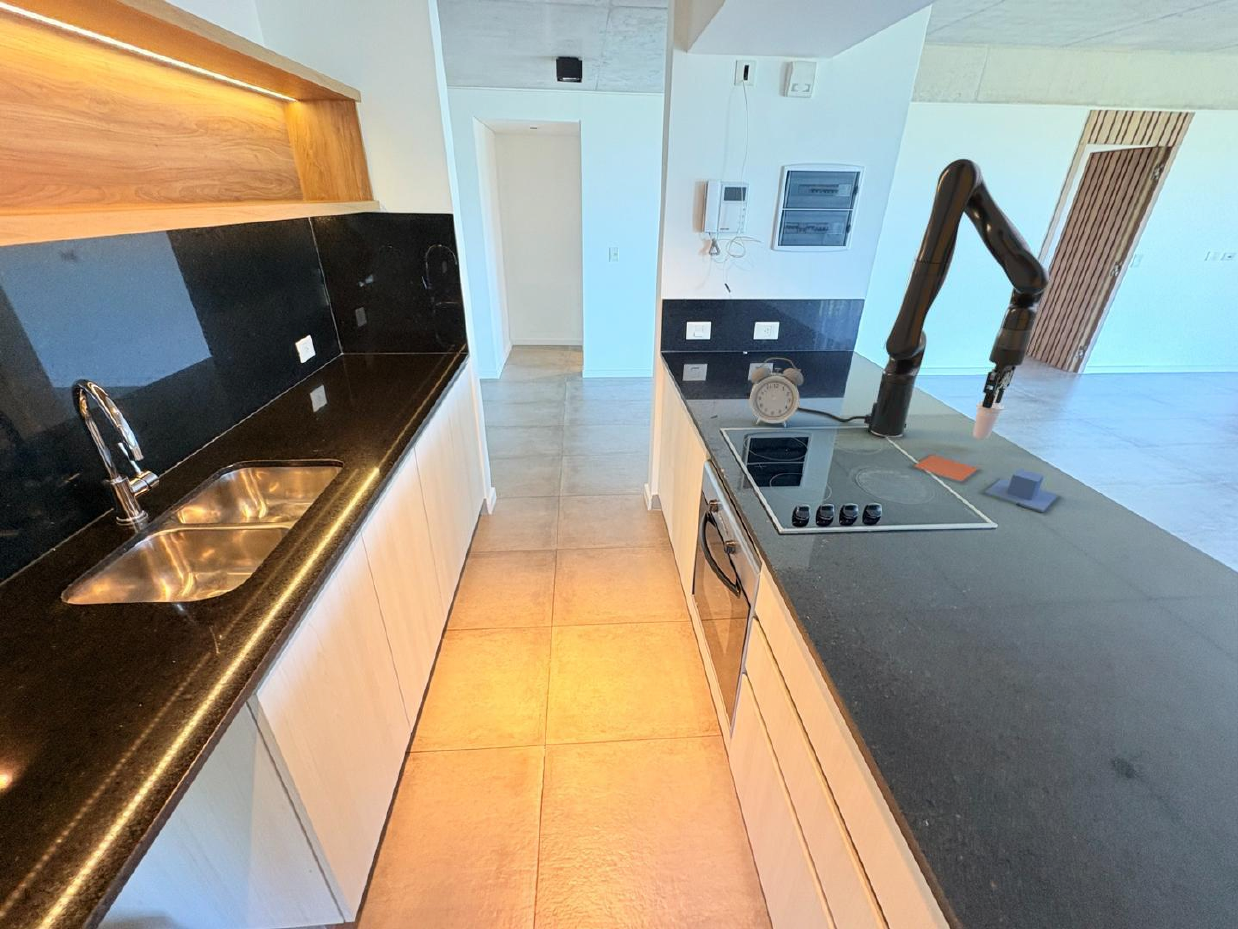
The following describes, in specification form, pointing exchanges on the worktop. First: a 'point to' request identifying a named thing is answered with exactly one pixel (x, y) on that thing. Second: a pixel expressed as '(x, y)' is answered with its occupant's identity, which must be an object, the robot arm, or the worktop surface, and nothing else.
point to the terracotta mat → (946, 467)
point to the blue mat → (1036, 503)
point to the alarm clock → (775, 393)
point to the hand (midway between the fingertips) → (990, 404)
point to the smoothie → (986, 419)
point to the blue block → (1025, 484)
